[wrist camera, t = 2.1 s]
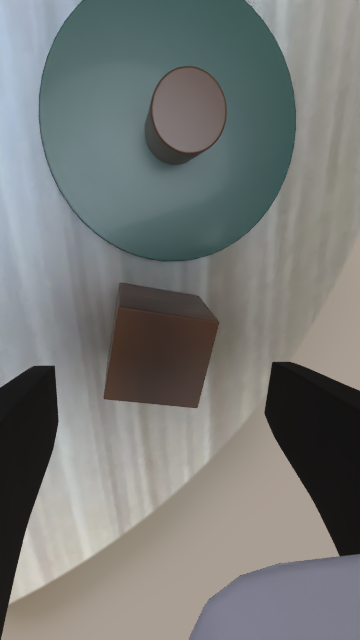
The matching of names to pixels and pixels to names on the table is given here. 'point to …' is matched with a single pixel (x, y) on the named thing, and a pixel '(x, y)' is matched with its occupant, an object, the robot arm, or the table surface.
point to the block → (159, 347)
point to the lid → (167, 122)
